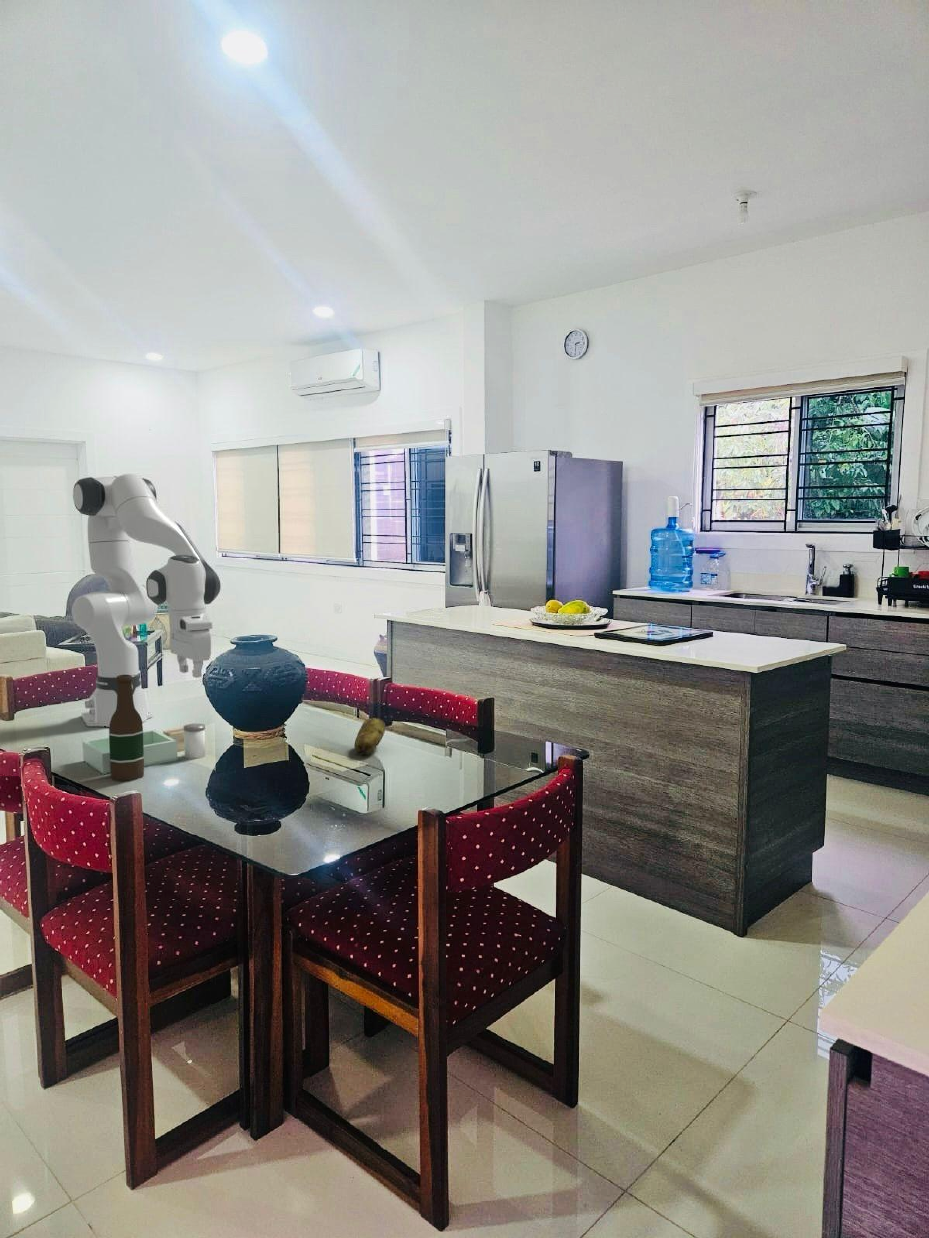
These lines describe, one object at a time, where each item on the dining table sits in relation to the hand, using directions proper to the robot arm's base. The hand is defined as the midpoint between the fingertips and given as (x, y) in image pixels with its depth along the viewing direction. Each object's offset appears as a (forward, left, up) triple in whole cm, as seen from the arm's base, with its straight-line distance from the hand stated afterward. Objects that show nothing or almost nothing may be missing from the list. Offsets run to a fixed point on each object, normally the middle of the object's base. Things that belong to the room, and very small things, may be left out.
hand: (190, 674), depth 206 cm
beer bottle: (+7, -19, -21) cm, 29 cm away
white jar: (+1, 0, -21) cm, 21 cm away
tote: (-5, -14, -21) cm, 26 cm away
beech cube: (-8, -1, -21) cm, 23 cm away
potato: (+25, +37, -21) cm, 50 cm away
